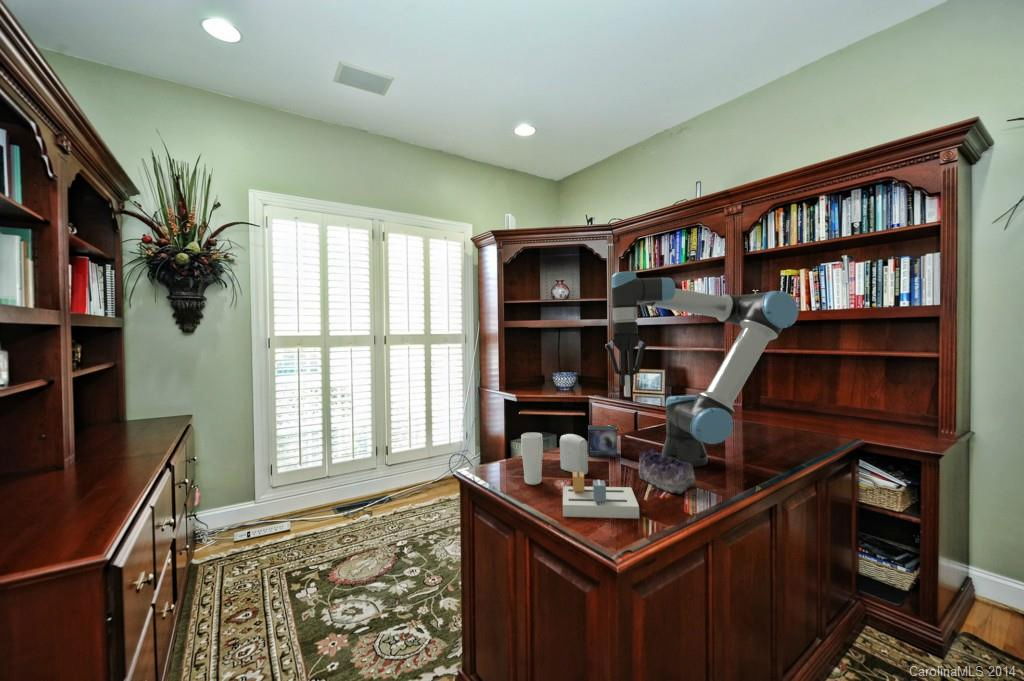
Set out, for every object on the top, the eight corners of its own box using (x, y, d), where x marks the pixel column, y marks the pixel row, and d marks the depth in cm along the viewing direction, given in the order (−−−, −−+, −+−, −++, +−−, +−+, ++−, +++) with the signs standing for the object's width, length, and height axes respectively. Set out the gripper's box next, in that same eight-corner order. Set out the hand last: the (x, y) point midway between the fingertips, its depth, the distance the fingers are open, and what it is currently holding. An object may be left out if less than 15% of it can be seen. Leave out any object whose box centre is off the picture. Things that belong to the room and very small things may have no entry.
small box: (588, 457, 159) (587, 429, 159) (588, 452, 166) (587, 425, 166) (617, 457, 158) (617, 429, 157) (616, 452, 164) (615, 425, 164)
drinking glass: (529, 487, 130) (527, 438, 130) (518, 481, 136) (517, 434, 136) (547, 483, 134) (546, 435, 133) (536, 477, 140) (535, 431, 139)
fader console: (631, 497, 121) (631, 486, 120) (639, 518, 108) (639, 505, 108) (563, 496, 123) (562, 485, 123) (563, 516, 110) (562, 504, 110)
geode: (624, 477, 137) (625, 446, 138) (651, 476, 143) (652, 445, 143) (673, 496, 119) (675, 460, 120) (702, 494, 124) (704, 459, 125)
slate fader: (604, 495, 114) (604, 479, 114) (606, 501, 110) (605, 485, 110) (593, 495, 114) (592, 479, 114) (594, 501, 110) (593, 485, 110)
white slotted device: (558, 469, 147) (557, 433, 147) (567, 466, 150) (566, 431, 149) (581, 476, 139) (580, 438, 139) (590, 473, 142) (589, 436, 141)
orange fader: (583, 486, 121) (583, 471, 121) (584, 491, 117) (584, 476, 117) (573, 485, 121) (572, 471, 121) (573, 491, 117) (572, 476, 117)
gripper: (643, 320, 138) (646, 393, 139) (602, 322, 140) (605, 394, 140) (648, 320, 131) (651, 397, 132) (605, 322, 132) (607, 398, 133)
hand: (627, 395), depth 136 cm, fingers closed
